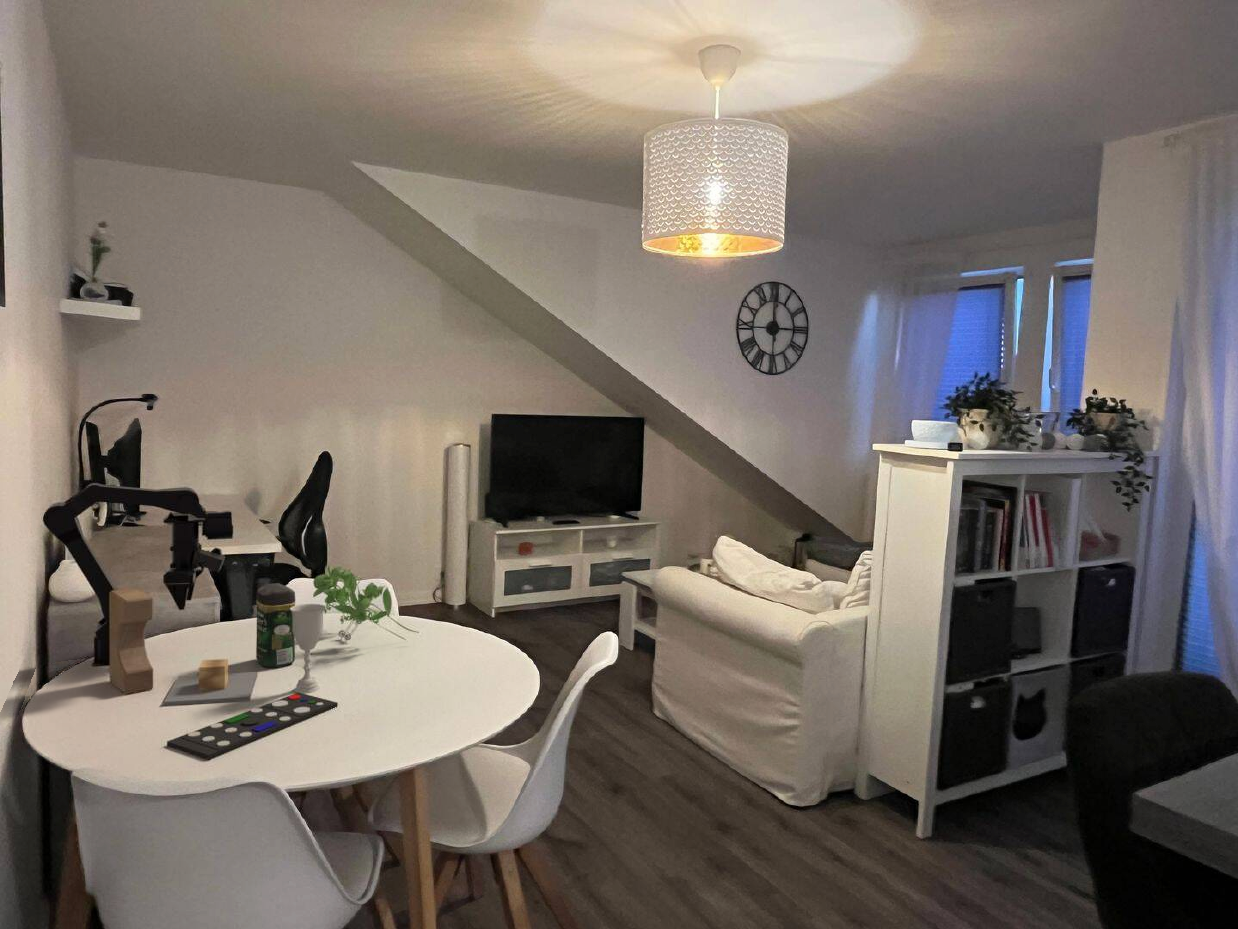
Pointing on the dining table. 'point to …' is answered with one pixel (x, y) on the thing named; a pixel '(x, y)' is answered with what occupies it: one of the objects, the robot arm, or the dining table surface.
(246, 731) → the remote control
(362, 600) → the plant cuttings
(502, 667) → the dining table surface
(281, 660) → the coffee jar
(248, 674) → the charcoal mat
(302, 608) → the chalice
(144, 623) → the decorative block
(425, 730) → the dining table surface
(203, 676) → the oak cube
